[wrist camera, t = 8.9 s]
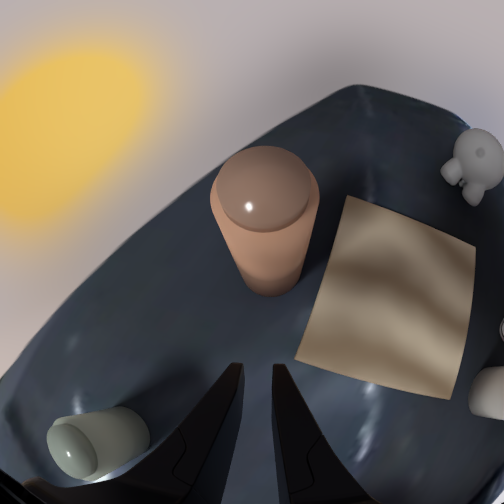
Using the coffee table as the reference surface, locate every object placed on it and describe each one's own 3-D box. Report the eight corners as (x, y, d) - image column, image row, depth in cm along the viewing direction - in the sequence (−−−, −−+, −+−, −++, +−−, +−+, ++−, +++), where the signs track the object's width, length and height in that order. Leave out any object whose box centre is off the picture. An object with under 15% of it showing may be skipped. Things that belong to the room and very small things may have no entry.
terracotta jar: (312, 277, 24) (345, 198, 12) (259, 308, 23) (237, 256, 11) (281, 229, 26) (282, 126, 14) (230, 256, 25) (189, 167, 13)
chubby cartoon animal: (481, 191, 28) (512, 153, 21) (473, 217, 22) (518, 166, 15) (448, 156, 30) (477, 116, 24) (430, 170, 25) (470, 115, 18)
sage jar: (159, 449, 19) (108, 482, 11) (119, 459, 18) (64, 485, 10) (133, 399, 21) (72, 412, 13) (96, 413, 20) (34, 424, 12)
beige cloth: (444, 398, 18) (449, 399, 17) (293, 359, 21) (294, 359, 20) (470, 250, 23) (475, 247, 22) (345, 200, 26) (347, 194, 25)
